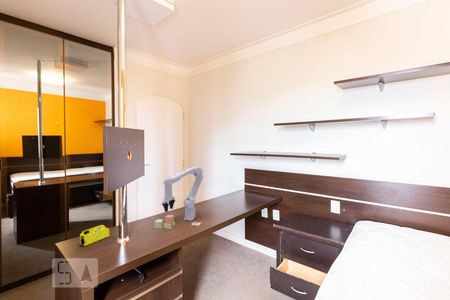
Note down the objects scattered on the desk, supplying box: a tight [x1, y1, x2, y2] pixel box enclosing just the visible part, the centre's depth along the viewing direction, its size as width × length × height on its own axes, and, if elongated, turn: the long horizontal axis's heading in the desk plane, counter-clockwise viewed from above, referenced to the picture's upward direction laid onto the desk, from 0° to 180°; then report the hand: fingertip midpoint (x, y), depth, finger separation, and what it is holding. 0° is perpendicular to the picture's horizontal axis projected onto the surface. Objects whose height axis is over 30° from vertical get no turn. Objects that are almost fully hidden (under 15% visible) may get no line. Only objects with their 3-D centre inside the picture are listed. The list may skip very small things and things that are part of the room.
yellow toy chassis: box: [79, 224, 110, 247], centre depth 143 cm, size 16×6×8 cm, turn 151°
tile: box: [191, 221, 201, 227], centre depth 170 cm, size 5×6×1 cm
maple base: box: [163, 221, 176, 230], centre depth 165 cm, size 6×6×4 cm
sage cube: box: [154, 218, 165, 229], centre depth 165 cm, size 5×5×5 cm
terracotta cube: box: [164, 214, 175, 224], centre depth 165 cm, size 5×5×5 cm
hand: (168, 210), depth 174 cm, fingers open, 7 cm apart
